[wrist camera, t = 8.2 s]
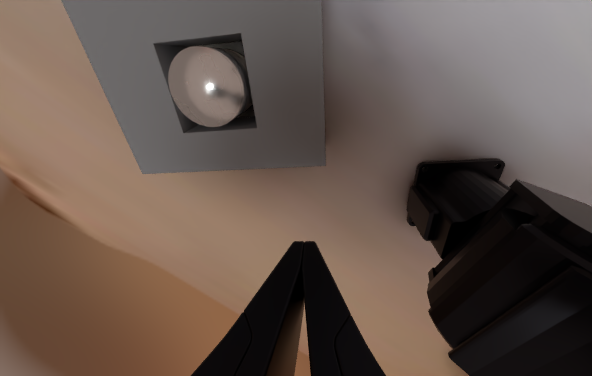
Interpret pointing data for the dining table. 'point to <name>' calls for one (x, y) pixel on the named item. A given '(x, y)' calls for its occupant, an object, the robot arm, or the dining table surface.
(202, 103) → the grey rounded piece
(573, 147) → the dining table surface
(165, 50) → the press block
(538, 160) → the dining table surface
